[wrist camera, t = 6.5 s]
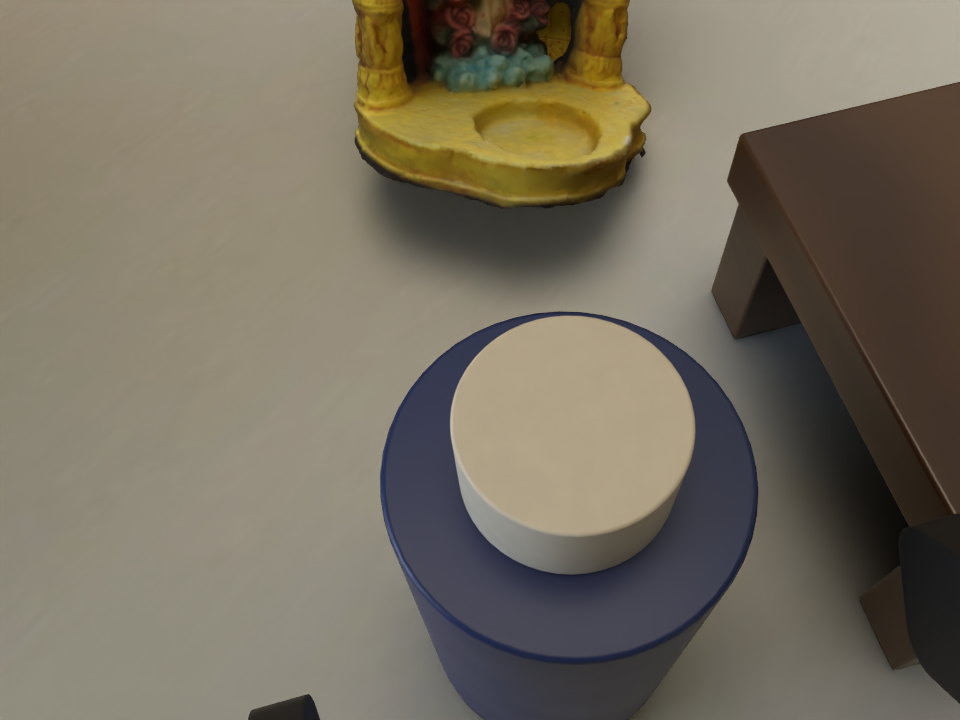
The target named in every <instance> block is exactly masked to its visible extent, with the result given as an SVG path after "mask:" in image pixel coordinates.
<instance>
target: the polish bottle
mask: <svg viewBox="0 0 960 720" xmlns="http://www.w3.org/2000/svg"><path fill="white" fill-rule="evenodd" d="M380 493H381V503H382V510H383V516H384V521H385V525H386V528H387V532H388V535H389V538H390V542H391V544H392V547H393V549H394V551H395V554H396V556H397V558H398V561H399V563H400V566H401V568H402V570H403V573H404V575H405V577H406V580H407V582H408V585H409V587H410V589H411V592H412V594H413V596H414V599H415V601H416V604H417V606H418V608H419V611H420V613H421V615H422V618H423V620H424V623H425V625H426V627H427V630H428V632H429V634H430V637H431V639H432V642H433V644H434V646H435V649H436V651H437V653H438V656H439V658H440V661H441V663H442V665H443V667H444V670H445V672H446V674H447V676H448V678H449V680H450V681H451V683H452V685H453V686H454V688H455V689H456V691H457V692H458V694H459V695H460V696H461V697H462V699H463V700H464V701H465V702H466V703H467V705H468V706H469V707H471V708H472V709H473V710H474V711H475V712H476V713H477V714H478V715H479V716H480V717H482V718H483V719H485V720H627V719H629V718H630V717H631V716H633V715H634V714H635V713H636V712H637V711H638V710H639V709H640V708H641V707H642V706H643V705H644V704H645V702H646V701H647V700H648V698H649V697H650V696H651V694H652V693H653V692H654V690H655V689H656V688H657V686H658V685H659V683H660V682H661V681H662V679H663V678H664V676H665V675H666V674H667V672H668V671H669V669H670V668H671V667H672V665H673V664H674V663H675V661H676V660H677V658H678V657H679V656H680V654H681V653H682V651H683V650H684V649H685V647H686V646H687V645H688V643H689V642H690V640H691V639H692V638H693V636H694V635H695V633H696V632H697V631H698V629H699V628H700V627H701V625H702V624H703V622H704V621H705V620H706V618H707V617H708V615H709V614H710V613H711V611H712V610H713V609H714V607H715V606H716V604H717V603H718V602H719V600H720V599H721V597H722V596H723V595H724V593H725V592H726V590H727V589H728V588H729V586H730V585H731V584H732V582H733V580H734V578H735V577H736V575H737V573H738V571H739V569H740V567H741V565H742V564H743V562H744V559H745V557H746V554H747V551H748V548H749V546H750V543H751V540H752V537H753V532H754V527H755V522H756V517H757V504H758V483H757V472H756V465H755V461H754V456H753V452H752V448H751V444H750V441H749V439H748V436H747V434H746V431H745V428H744V426H743V423H742V421H741V420H740V418H739V416H738V414H737V412H736V410H735V408H734V407H733V405H732V403H731V401H730V400H729V398H728V397H727V396H726V394H725V393H724V391H723V390H722V389H721V387H720V386H719V385H718V383H717V382H716V381H715V380H714V379H713V378H712V377H711V376H710V375H709V373H708V372H707V371H706V370H705V369H704V368H703V367H702V366H701V365H700V364H699V363H697V362H696V361H695V360H694V359H693V358H691V357H690V356H689V355H688V354H687V353H686V352H684V351H683V350H681V349H680V348H678V347H677V346H675V345H674V344H672V343H671V342H669V341H668V340H666V339H664V338H662V337H661V336H659V335H657V334H655V333H653V332H651V331H649V330H647V329H645V328H642V327H639V326H637V325H634V324H631V323H629V322H626V321H623V320H619V319H615V318H611V317H607V316H603V315H596V314H589V313H582V312H548V313H536V314H531V315H526V316H521V317H516V318H512V319H509V320H506V321H503V322H500V323H496V324H494V325H491V326H489V327H487V328H485V329H482V330H480V331H478V332H476V333H474V334H472V335H470V336H469V337H467V338H465V339H463V340H462V341H460V342H458V343H457V344H455V345H454V346H453V347H451V348H450V349H449V350H447V351H446V352H445V353H444V354H442V355H441V356H440V357H438V358H437V359H436V360H435V361H434V362H433V363H432V364H431V365H430V366H429V367H428V368H427V369H426V370H425V371H424V372H423V373H422V375H421V376H420V377H419V378H418V380H417V381H416V382H415V384H414V385H413V386H412V387H411V389H410V390H409V391H408V393H407V395H406V396H405V398H404V400H403V402H402V403H401V405H400V407H399V408H398V410H397V412H396V415H395V417H394V420H393V422H392V424H391V427H390V429H389V432H388V436H387V439H386V443H385V447H384V450H383V457H382V465H381V472H380Z"/></svg>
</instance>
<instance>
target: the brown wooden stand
mask: <svg viewBox="0 0 960 720" xmlns="http://www.w3.org/2000/svg"><path fill="white" fill-rule="evenodd" d="M727 182H728V184H729V186H730V188H731V190H732V192H733V194H734V196H735V198H736V199H737V201H738V203H739V205H738V208H737V211H736V214H735V218H734V221H733V224H732V227H731V230H730V233H729V236H728V239H727V243H726V246H725V249H724V252H723V255H722V258H721V261H720V265H719V268H718V271H717V274H716V277H715V280H714V283H713V286H712V293H713V295H714V297H715V299H716V301H717V303H718V305H719V308H720V310H721V312H722V314H723V316H724V318H725V320H726V322H727V324H728V326H729V328H730V331H731V333H732V335H733V337H734V338H735V339H737V338H741V337H745V336H748V335H752V334H756V333H760V332H764V331H768V330H772V329H776V328H779V327H783V326H787V325H791V324H795V323H799V322H801V323H802V324H803V326H804V328H805V330H806V332H807V334H808V336H809V338H810V340H811V341H812V343H813V345H814V347H815V349H816V351H817V353H818V355H819V357H820V359H821V360H822V362H823V364H824V366H825V368H826V370H827V372H828V374H829V376H830V377H831V379H832V381H833V383H834V385H835V387H836V389H837V391H838V393H839V394H840V396H841V398H842V400H843V402H844V404H845V406H846V408H847V410H848V412H849V413H850V415H851V417H852V419H853V421H854V423H855V425H856V427H857V429H858V430H859V432H860V434H861V436H862V438H863V440H864V442H865V444H866V446H867V448H868V449H869V451H870V453H871V455H872V457H873V459H874V461H875V463H876V465H877V466H878V468H879V470H880V472H881V474H882V476H883V478H884V480H885V482H886V483H887V485H888V487H889V489H890V491H891V493H892V495H893V497H894V499H895V501H896V502H897V504H898V506H899V508H900V510H901V512H902V514H903V516H904V518H905V519H906V521H907V523H908V525H909V526H913V525H917V524H920V523H924V522H927V521H931V520H934V519H938V518H941V517H945V516H949V515H952V514H956V513H960V82H958V83H953V84H949V85H945V86H941V87H937V88H932V89H928V90H924V91H920V92H916V93H911V94H907V95H903V96H899V97H895V98H890V99H886V100H882V101H878V102H874V103H869V104H865V105H861V106H857V107H853V108H848V109H844V110H840V111H836V112H832V113H827V114H823V115H819V116H815V117H811V118H806V119H802V120H798V121H794V122H790V123H785V124H781V125H777V126H773V127H769V128H764V129H760V130H756V131H752V132H747V133H743V134H742V135H741V136H740V137H739V141H738V144H737V148H736V151H735V154H734V158H733V161H732V165H731V168H730V172H729V175H728V179H727ZM860 602H861V604H862V606H863V608H864V610H865V612H866V614H867V616H868V618H869V621H870V623H871V625H872V627H873V629H874V631H875V633H876V635H877V637H878V639H879V641H880V644H881V646H882V648H883V650H884V652H885V654H886V656H887V658H888V660H889V662H890V664H891V667H892V668H893V669H896V670H898V669H901V668H904V667H908V666H911V665H914V664H918V663H920V662H919V660H918V659H917V657H916V655H915V653H914V651H913V648H912V646H911V643H910V640H909V637H908V633H907V627H906V618H905V608H904V598H903V587H902V577H901V567H900V565H899V566H898V567H897V568H895V569H894V570H893V571H892V572H891V573H889V574H888V575H887V576H886V577H884V578H883V579H882V580H881V581H879V582H878V583H877V584H876V585H874V586H873V587H872V588H871V589H870V590H868V591H867V592H866V593H865V594H863V595H862V596H861V597H860Z"/></svg>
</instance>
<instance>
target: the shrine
mask: <svg viewBox="0 0 960 720" xmlns="http://www.w3.org/2000/svg"><path fill="white" fill-rule="evenodd" d="M352 2H353V5H354V8H355V11H356V13H357V21H356V29H355V31H356V32H355V44H356V53H357V57H358V58H359V59H360V61H359V64H358V73H357V78H358V84H357V85H358V90H357V91H356V97H357V99H356V101H355V102H354V107H355V110H356V112H357V114H358V121H359V126H358V129H357V130H356V131H355V135H356V137H355V145H356V146H357V148H358V149H359V153H360V154H361V157H362V159H363V160H365V161H366V162H367V163H368V164H369V165H370V166H372V167H373V168H374V169H375V170H376V171H377V172H378V173H379V174H381V175H383V176H385V177H387V178H390V179H392V180H395V181H399V182H402V183H408V184H411V185H414V186H418V187H423V188H428V189H437V190H444V191H447V192H451V193H454V194H456V195H459V196H463V197H465V198H468V199H471V200H479V201H481V202H484V203H487V205H491V206H494V207H499V208H514V207H515V208H518V207H543V208H551V207H555V206H564V205H574V204H579V203H581V202H587V201H591V200H594V199H598V198H601V197H602V196H603V195H604V194H605V193H606V192H607V191H608V190H609V189H611V188H614V187H617V186H621V185H622V184H623V182H624V180H625V177H626V173H627V170H628V169H629V165H630V163H631V161H632V159H633V158H634V157H635V156H636V155H637V154H639V153H640V155H641V157H643V156H644V155H645V150H644V148H643V145H644V144H645V140H646V136H645V133H643V132H642V131H641V129H640V126H641V124H642V122H643V121H644V120H645V119H646V118H647V117H648V115H649V114H650V112H651V105H650V104H649V102H648V101H647V100H646V99H645V98H644V97H643V96H642V95H640V93H639V92H638V91H637V90H636V89H635V87H634V86H633V85H630V84H628V83H625V82H624V80H623V78H622V76H621V72H622V60H621V51H622V47H623V45H624V43H625V41H626V39H627V26H628V13H627V8H628V5H629V2H630V0H352Z"/></svg>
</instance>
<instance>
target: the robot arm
mask: <svg viewBox="0 0 960 720" xmlns="http://www.w3.org/2000/svg"><path fill="white" fill-rule="evenodd" d="M898 544H899V557H900V567H901V577H902V587H903V598H904V608H905V618H906V627H907V633H908V637H909V640H910V643H911V646H912V648H913V651H914V653H915V655H916V657H917V659H918V660H919V662H920V664H921V665H922V667H923V668H924V669H925V671H926V672H927V673H928V674H929V675H930V676H931V677H932V678H933V679H934V680H935V681H936V682H937V683H938V684H939V685H940V686H941V687H942V688H943V689H944V690H945V691H947V692H948V693H949V694H950V695H951V696H952V697H953V698H954V699H955V700H956V701H957V702H958V703H960V513H956V514H952V515H949V516H945V517H941V518H938V519H934V520H931V521H927V522H924V523H920V524H917V525H913V526H909V527H906V528H904V529H903V530H902V531H901V533H900V536H899V542H898ZM248 720H320V718H319V715H318V712H317V709H316V706H315V703H314V701H313V699H312V697H311V696H310V695H309V694H307V695H303V696H300V697H296V698H293V699H289V700H286V701H282V702H278V703H275V704H271V705H268V706H264V707H261V708H257V709H254V710H252V711H251V712H250V714H249V718H248Z"/></svg>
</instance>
